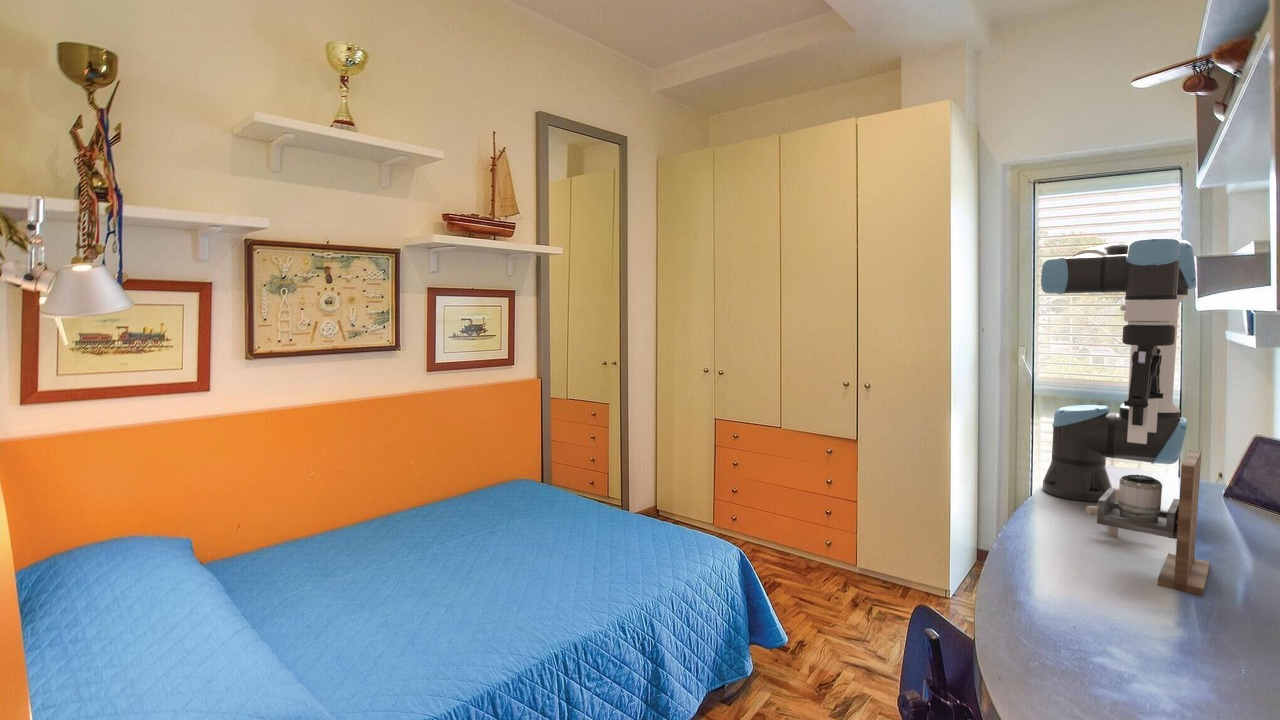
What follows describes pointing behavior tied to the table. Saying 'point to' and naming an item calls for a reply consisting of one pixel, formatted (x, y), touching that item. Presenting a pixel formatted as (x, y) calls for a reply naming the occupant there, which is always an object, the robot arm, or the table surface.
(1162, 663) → the table surface
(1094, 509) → the pipe connector
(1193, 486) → the cup bracket
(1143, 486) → the camera lens
